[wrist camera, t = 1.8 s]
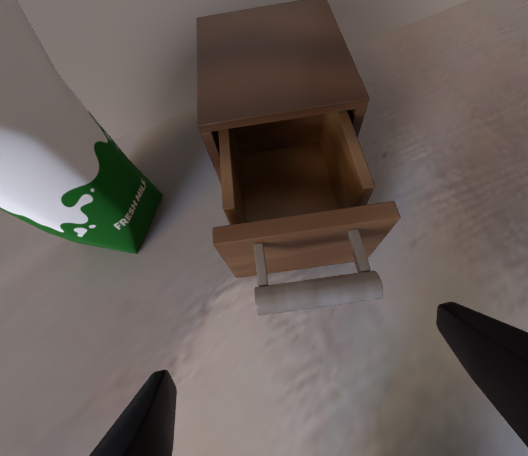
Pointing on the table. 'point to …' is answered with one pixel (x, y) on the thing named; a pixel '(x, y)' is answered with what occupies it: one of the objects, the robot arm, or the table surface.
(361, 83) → the cabinet
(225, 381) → the table surface
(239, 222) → the drawer
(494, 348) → the robot arm
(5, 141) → the milk carton
